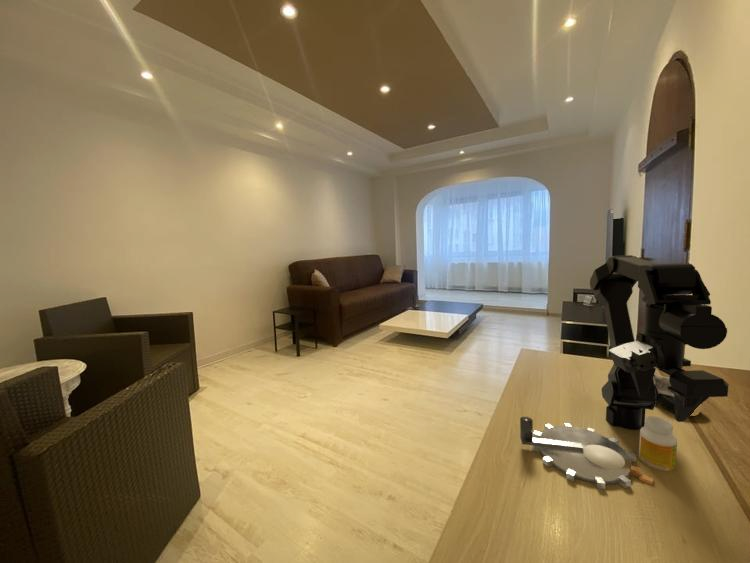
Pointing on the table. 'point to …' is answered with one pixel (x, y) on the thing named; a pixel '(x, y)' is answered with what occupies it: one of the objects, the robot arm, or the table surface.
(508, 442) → the table surface
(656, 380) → the caster wheel
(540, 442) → the sprocket
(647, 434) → the supplement bottle
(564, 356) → the table surface
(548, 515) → the table surface
